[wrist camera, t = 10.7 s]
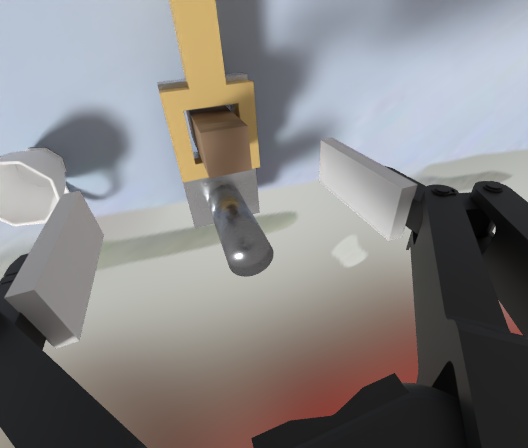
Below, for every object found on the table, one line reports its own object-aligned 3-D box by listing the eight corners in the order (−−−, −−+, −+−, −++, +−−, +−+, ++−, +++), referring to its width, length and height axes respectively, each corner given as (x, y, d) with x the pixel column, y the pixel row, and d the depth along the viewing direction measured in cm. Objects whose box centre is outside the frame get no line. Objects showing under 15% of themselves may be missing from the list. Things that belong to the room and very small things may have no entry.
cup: (48, 124, 30) (20, 145, 23) (108, 196, 36) (99, 229, 29) (-14, 151, 29) (-60, 180, 23) (58, 219, 35) (37, 257, 29)
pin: (191, 136, 35) (209, 178, 24) (184, 103, 33) (200, 133, 22) (222, 131, 36) (252, 169, 25) (217, 99, 34) (247, 125, 23)
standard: (156, 78, 31) (159, 107, 16) (233, 69, 33) (295, 89, 18) (190, 209, 41) (211, 297, 26) (248, 196, 43) (295, 272, 28)
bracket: (125, -44, 25) (115, -74, 19) (220, -45, 27) (241, -72, 21) (177, 158, 36) (182, 182, 30) (242, 146, 38) (260, 167, 32)
